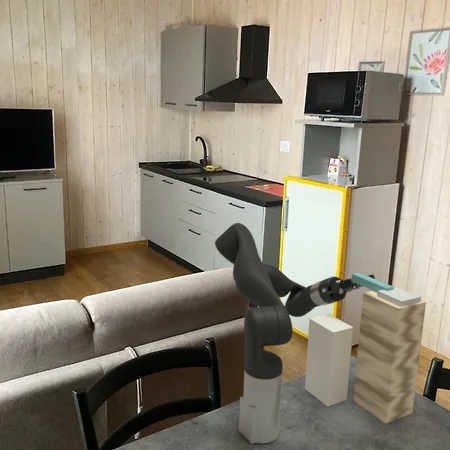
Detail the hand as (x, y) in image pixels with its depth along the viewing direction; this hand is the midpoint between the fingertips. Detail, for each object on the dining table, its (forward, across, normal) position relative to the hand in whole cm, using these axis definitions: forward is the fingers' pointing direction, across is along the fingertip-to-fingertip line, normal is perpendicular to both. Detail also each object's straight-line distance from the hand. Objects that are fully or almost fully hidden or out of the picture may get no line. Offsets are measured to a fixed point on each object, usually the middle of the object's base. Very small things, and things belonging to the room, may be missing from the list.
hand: (362, 280), depth 140 cm
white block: (-17, -10, +28) cm, 35 cm away
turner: (+5, 0, +4) cm, 7 cm away
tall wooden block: (-7, 0, +34) cm, 35 cm away
